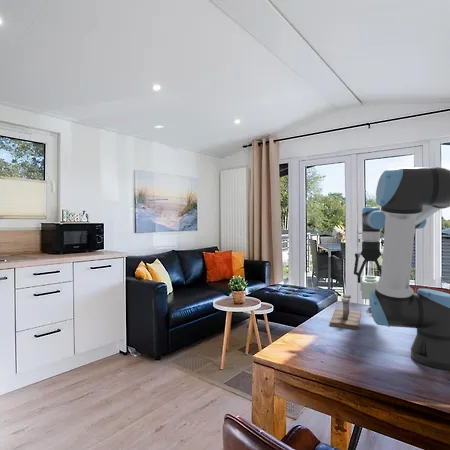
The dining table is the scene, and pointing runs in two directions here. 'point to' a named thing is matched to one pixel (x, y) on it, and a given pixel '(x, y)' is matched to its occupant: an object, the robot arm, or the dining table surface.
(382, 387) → the dining table surface
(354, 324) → the board
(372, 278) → the two-pocket foam insert
